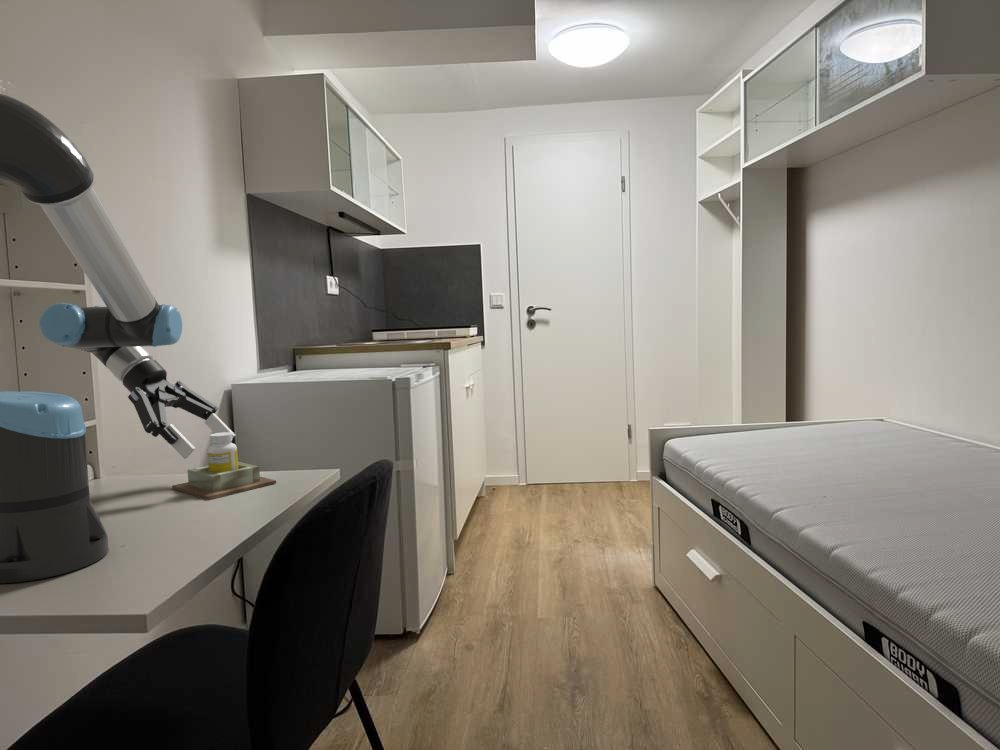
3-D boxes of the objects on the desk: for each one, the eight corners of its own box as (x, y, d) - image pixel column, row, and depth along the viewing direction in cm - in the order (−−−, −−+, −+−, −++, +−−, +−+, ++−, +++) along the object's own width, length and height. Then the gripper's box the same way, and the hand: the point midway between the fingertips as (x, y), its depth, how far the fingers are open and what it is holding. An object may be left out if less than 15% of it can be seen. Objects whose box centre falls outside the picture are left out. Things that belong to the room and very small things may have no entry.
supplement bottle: (225, 478, 133) (222, 430, 132) (245, 480, 131) (242, 432, 130) (203, 484, 128) (200, 435, 127) (222, 487, 126) (219, 437, 125)
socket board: (208, 499, 120) (207, 480, 119) (172, 488, 128) (170, 470, 128) (276, 483, 131) (275, 465, 130) (238, 474, 139) (237, 457, 139)
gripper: (167, 378, 144) (234, 446, 143) (77, 391, 119) (157, 474, 118) (188, 353, 142) (256, 422, 141) (101, 362, 118) (182, 445, 117)
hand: (211, 446), depth 130 cm, fingers open, 13 cm apart
